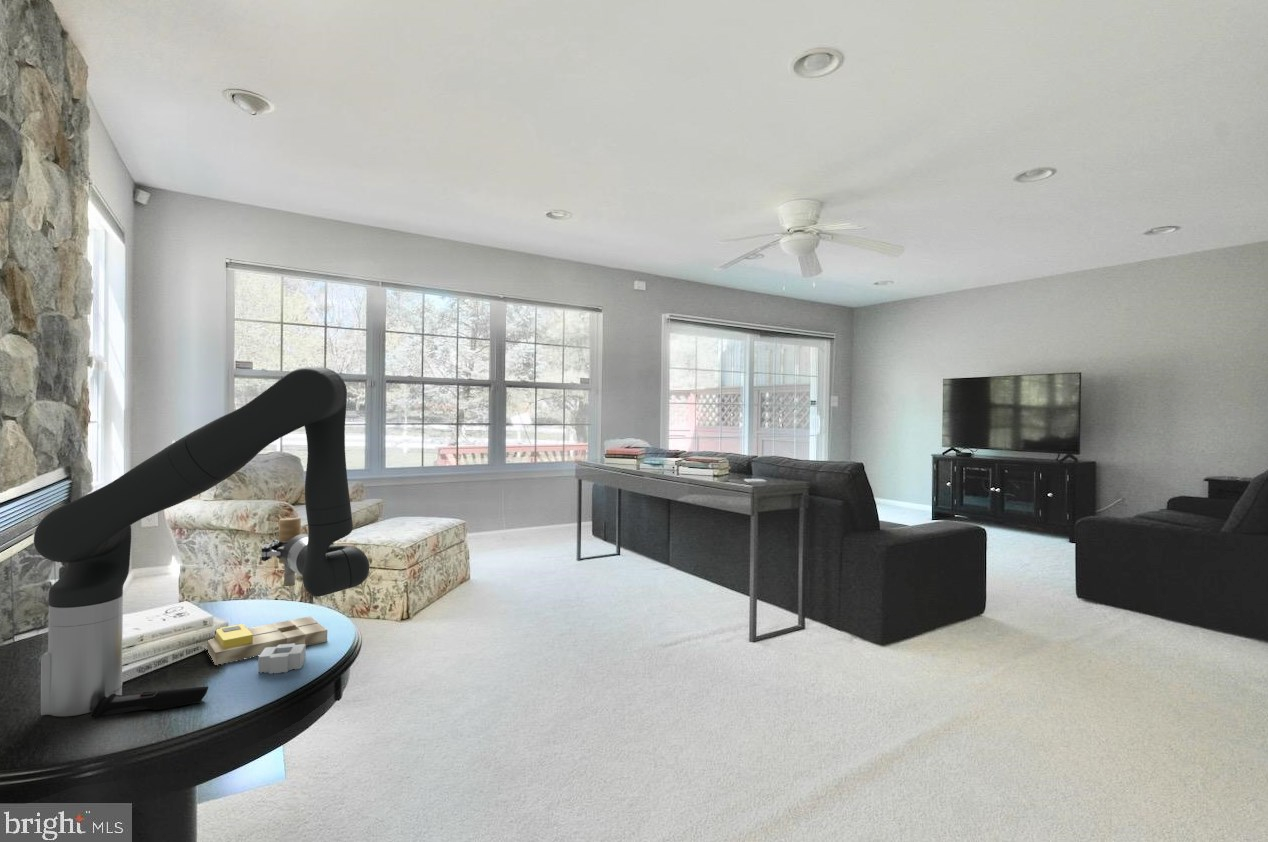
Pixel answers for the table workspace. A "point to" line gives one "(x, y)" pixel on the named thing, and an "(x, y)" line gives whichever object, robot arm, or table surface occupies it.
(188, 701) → the electric trimmer
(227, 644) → the block
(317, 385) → the robot arm
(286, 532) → the awl
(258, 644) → the board
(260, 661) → the block
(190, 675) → the table surface
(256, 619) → the table surface
